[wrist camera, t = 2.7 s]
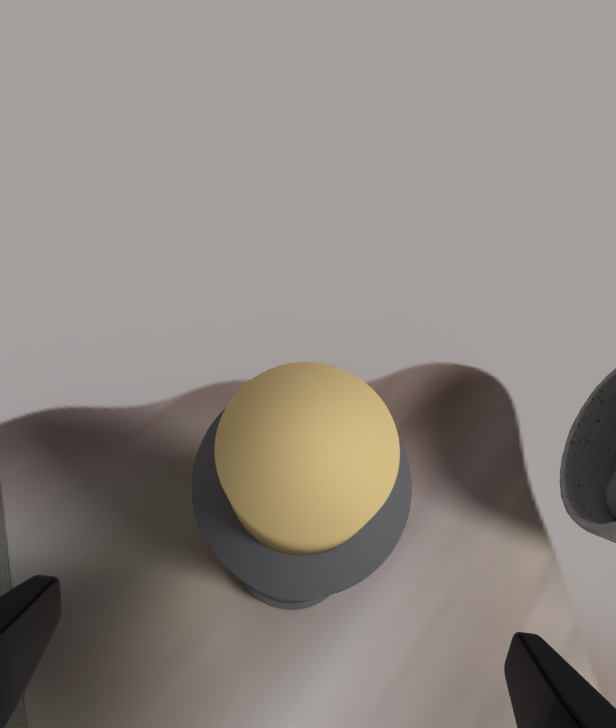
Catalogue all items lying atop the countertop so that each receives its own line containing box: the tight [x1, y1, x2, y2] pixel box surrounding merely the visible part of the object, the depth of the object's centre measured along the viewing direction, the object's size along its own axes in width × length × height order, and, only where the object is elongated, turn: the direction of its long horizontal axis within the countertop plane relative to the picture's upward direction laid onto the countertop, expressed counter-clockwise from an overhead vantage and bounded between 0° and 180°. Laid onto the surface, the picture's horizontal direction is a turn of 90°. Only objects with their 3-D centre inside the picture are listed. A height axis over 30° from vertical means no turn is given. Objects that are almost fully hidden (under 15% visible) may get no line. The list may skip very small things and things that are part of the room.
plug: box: [192, 362, 411, 610], centre depth 13 cm, size 5×5×13 cm
